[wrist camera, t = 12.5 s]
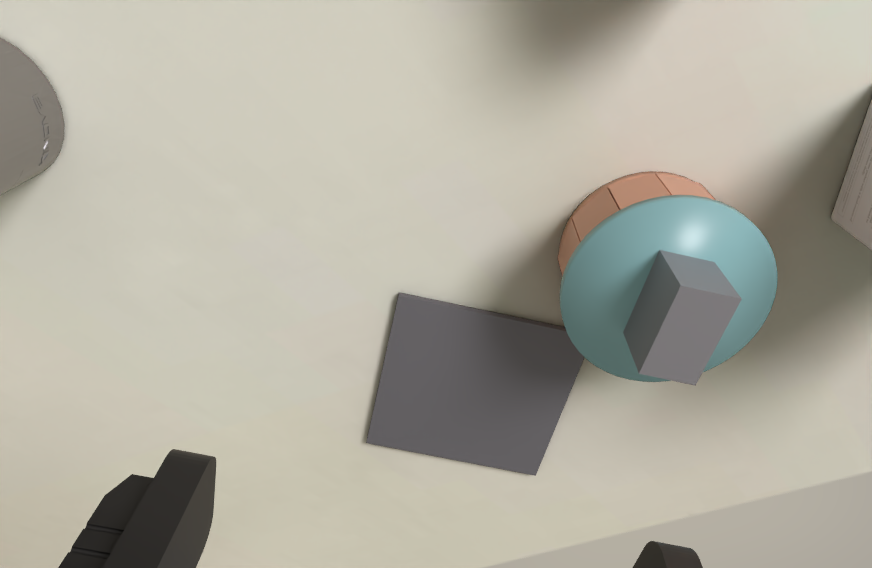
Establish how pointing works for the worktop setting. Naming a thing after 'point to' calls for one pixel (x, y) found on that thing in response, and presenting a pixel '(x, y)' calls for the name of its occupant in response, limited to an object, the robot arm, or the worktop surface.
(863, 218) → the supplement box
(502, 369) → the mat
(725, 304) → the lid
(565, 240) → the bowl
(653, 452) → the worktop surface
